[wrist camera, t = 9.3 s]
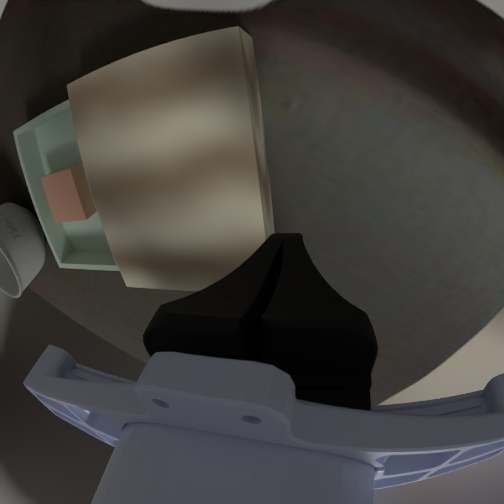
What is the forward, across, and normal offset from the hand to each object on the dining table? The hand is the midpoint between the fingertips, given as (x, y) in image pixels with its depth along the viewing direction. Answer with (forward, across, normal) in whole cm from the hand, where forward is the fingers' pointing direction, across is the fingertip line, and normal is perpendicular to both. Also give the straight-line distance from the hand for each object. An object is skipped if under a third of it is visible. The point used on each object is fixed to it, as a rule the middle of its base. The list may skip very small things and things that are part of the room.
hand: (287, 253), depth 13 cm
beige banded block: (+9, +8, -2) cm, 13 cm away
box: (+9, +20, -2) cm, 23 cm away
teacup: (+10, +35, +2) cm, 36 cm away
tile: (+7, +21, -2) cm, 22 cm away
